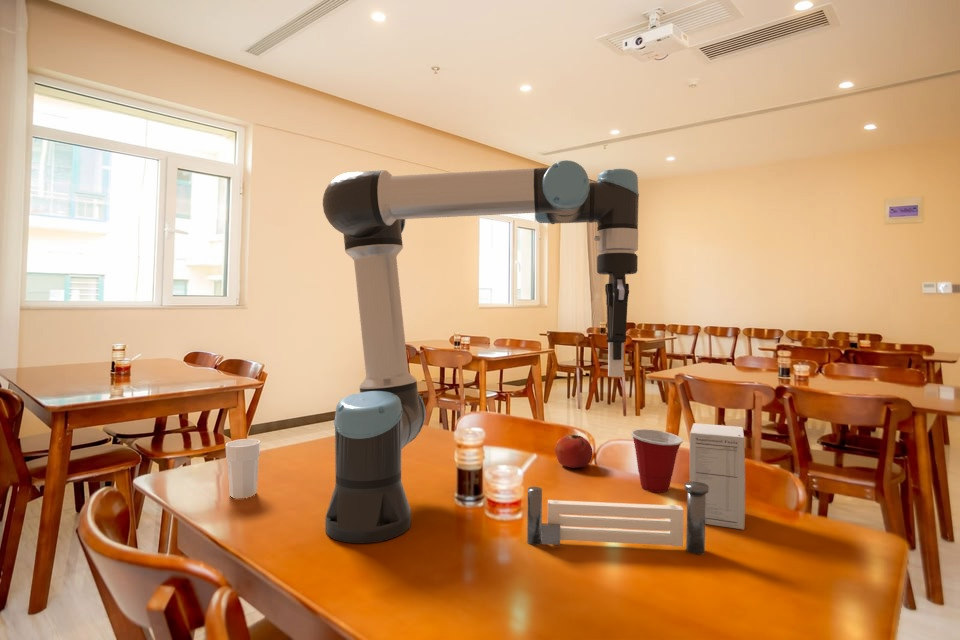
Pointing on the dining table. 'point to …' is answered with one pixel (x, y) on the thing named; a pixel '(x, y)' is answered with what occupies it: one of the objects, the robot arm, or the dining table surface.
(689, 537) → the hinge post
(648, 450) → the plastic cup
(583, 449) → the tomato
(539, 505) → the post
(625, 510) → the gate
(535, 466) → the dining table surface
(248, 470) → the cup
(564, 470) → the dining table surface
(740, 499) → the supplement box
